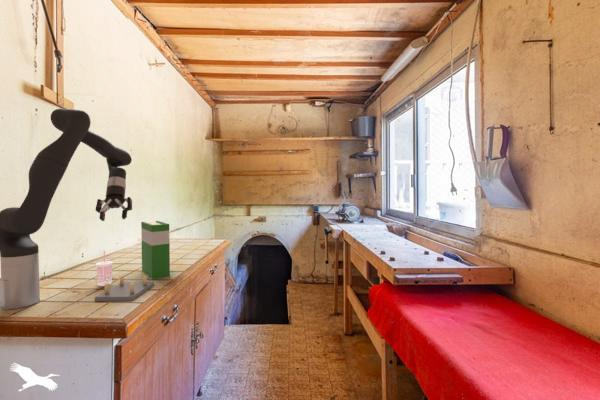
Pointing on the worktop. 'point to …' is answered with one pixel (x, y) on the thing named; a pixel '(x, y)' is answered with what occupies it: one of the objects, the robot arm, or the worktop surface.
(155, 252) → the hardback book
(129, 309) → the worktop surface
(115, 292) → the chassis
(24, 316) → the worktop surface
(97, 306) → the worktop surface
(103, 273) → the beverage cup
